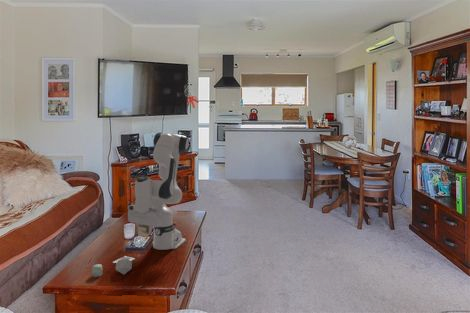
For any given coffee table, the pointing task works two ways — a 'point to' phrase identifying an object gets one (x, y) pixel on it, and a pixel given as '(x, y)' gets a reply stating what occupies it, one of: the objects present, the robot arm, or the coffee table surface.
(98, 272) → the pale green rounded lump
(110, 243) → the coffee table surface
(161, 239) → the robot arm
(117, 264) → the die
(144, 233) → the birch block
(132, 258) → the plan card
